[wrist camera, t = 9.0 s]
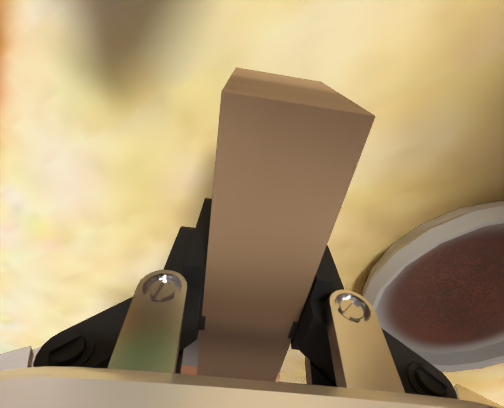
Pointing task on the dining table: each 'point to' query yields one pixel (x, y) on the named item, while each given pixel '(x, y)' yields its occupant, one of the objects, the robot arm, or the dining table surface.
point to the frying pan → (446, 288)
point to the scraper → (271, 215)
